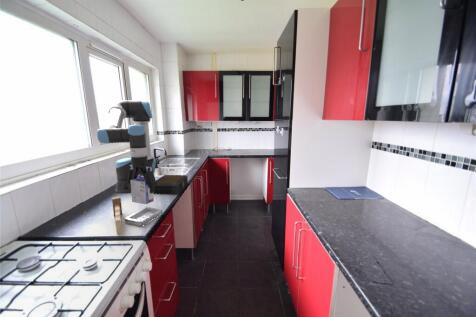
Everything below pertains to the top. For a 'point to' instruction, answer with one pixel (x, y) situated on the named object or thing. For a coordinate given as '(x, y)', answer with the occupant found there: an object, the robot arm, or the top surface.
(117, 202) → the door edge board
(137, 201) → the ink cartridge box
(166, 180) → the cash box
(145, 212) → the index tray
